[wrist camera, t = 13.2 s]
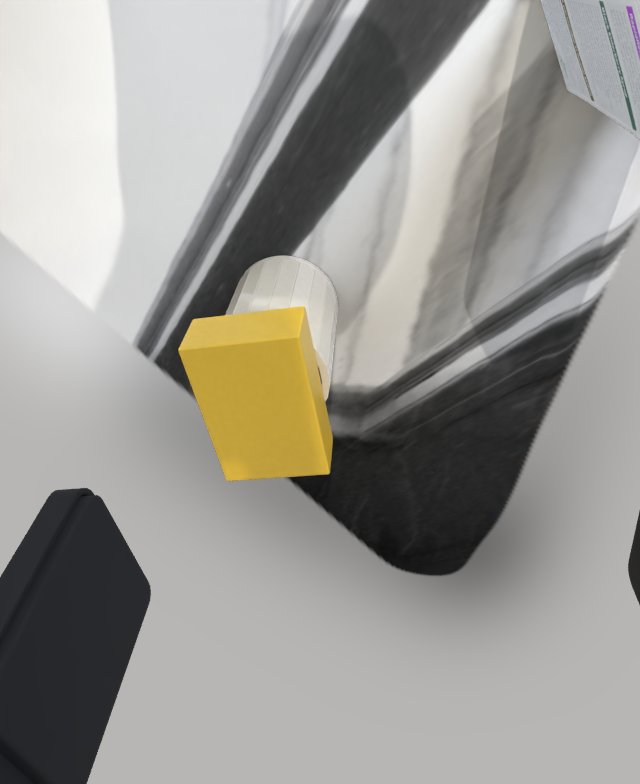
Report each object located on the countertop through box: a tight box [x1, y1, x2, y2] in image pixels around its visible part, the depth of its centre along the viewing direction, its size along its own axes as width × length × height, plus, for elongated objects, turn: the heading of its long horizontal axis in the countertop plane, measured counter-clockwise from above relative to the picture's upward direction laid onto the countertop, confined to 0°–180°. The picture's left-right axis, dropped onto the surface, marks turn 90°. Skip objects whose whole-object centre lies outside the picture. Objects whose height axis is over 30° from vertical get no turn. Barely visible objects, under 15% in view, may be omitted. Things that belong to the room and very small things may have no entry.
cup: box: [225, 256, 338, 401], centre depth 36 cm, size 7×7×9 cm
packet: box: [178, 306, 333, 481], centre depth 31 cm, size 9×6×3 cm, turn 10°
